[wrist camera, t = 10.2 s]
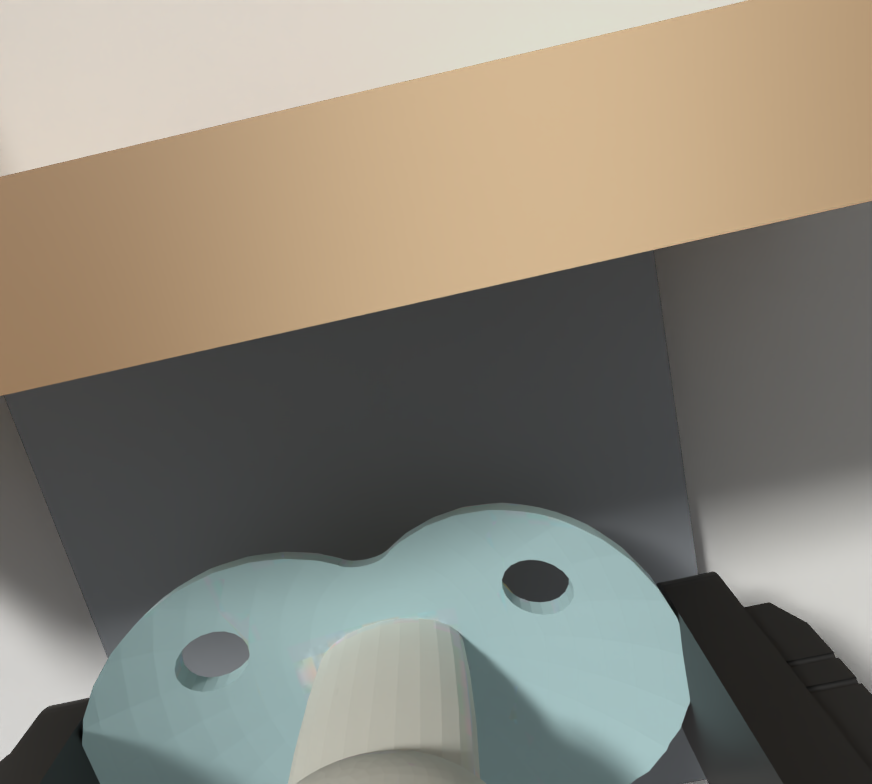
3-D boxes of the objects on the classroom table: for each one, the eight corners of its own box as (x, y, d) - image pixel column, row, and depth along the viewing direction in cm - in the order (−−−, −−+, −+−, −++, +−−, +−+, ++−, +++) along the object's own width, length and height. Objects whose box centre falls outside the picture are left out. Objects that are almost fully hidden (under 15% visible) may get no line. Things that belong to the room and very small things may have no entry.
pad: (637, 221, 11) (650, 223, 10) (713, 750, 14) (725, 775, 13) (15, 362, 11) (-6, 371, 11) (204, 850, 14) (195, 878, 13)
